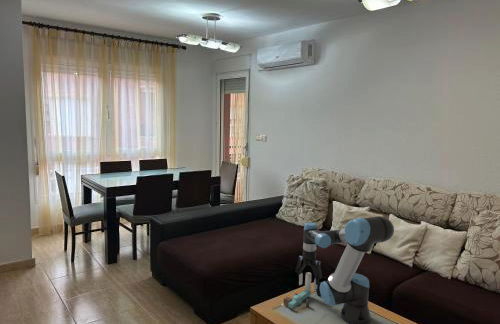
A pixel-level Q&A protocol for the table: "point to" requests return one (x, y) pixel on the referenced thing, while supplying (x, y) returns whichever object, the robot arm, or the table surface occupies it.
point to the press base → (301, 306)
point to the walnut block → (287, 301)
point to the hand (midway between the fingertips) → (307, 286)
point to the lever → (303, 295)
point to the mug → (319, 285)
